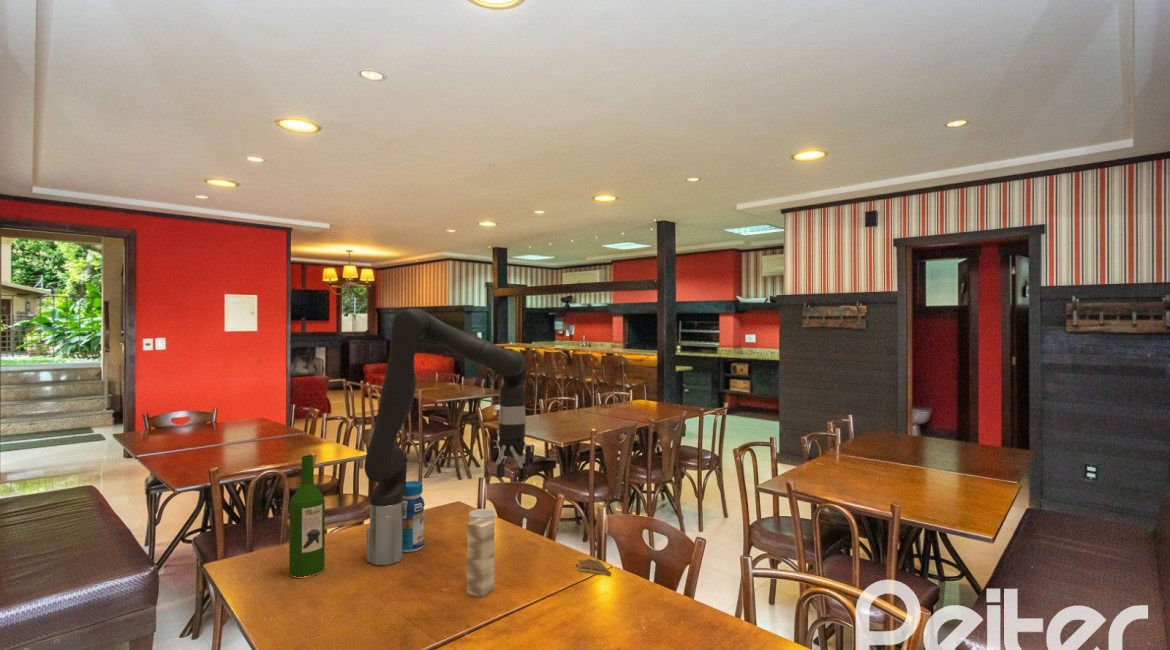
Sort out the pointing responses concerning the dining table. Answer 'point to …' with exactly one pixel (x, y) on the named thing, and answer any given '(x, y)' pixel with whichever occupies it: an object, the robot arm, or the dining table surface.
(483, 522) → the birch block
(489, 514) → the white cup
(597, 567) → the shard
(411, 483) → the beverage bottle
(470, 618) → the dining table surface
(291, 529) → the wine bottle
